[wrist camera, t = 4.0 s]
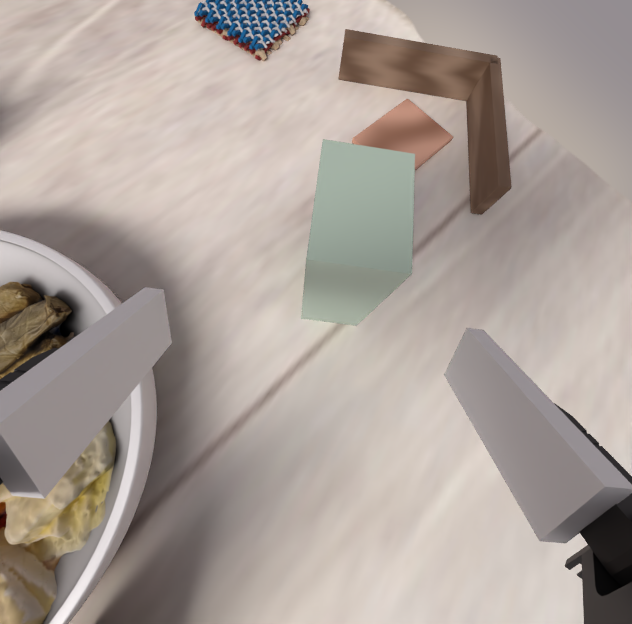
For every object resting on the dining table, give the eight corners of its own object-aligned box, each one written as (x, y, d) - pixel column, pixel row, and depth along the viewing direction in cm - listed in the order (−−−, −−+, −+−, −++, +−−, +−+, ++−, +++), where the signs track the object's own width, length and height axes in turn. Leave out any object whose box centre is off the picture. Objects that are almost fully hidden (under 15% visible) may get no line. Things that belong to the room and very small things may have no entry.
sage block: (361, 255, 26) (415, 153, 14) (356, 325, 24) (412, 274, 13) (310, 248, 26) (322, 139, 14) (301, 318, 24) (306, 259, 12)
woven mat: (314, 23, 34) (315, 1, 32) (262, 70, 32) (260, 49, 30) (248, -15, 35) (245, -38, 33) (193, 28, 33) (187, 5, 31)
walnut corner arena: (475, 94, 33) (500, 56, 29) (481, 214, 28) (511, 187, 24) (339, 71, 32) (345, 29, 28) (324, 190, 28) (328, 159, 24)
